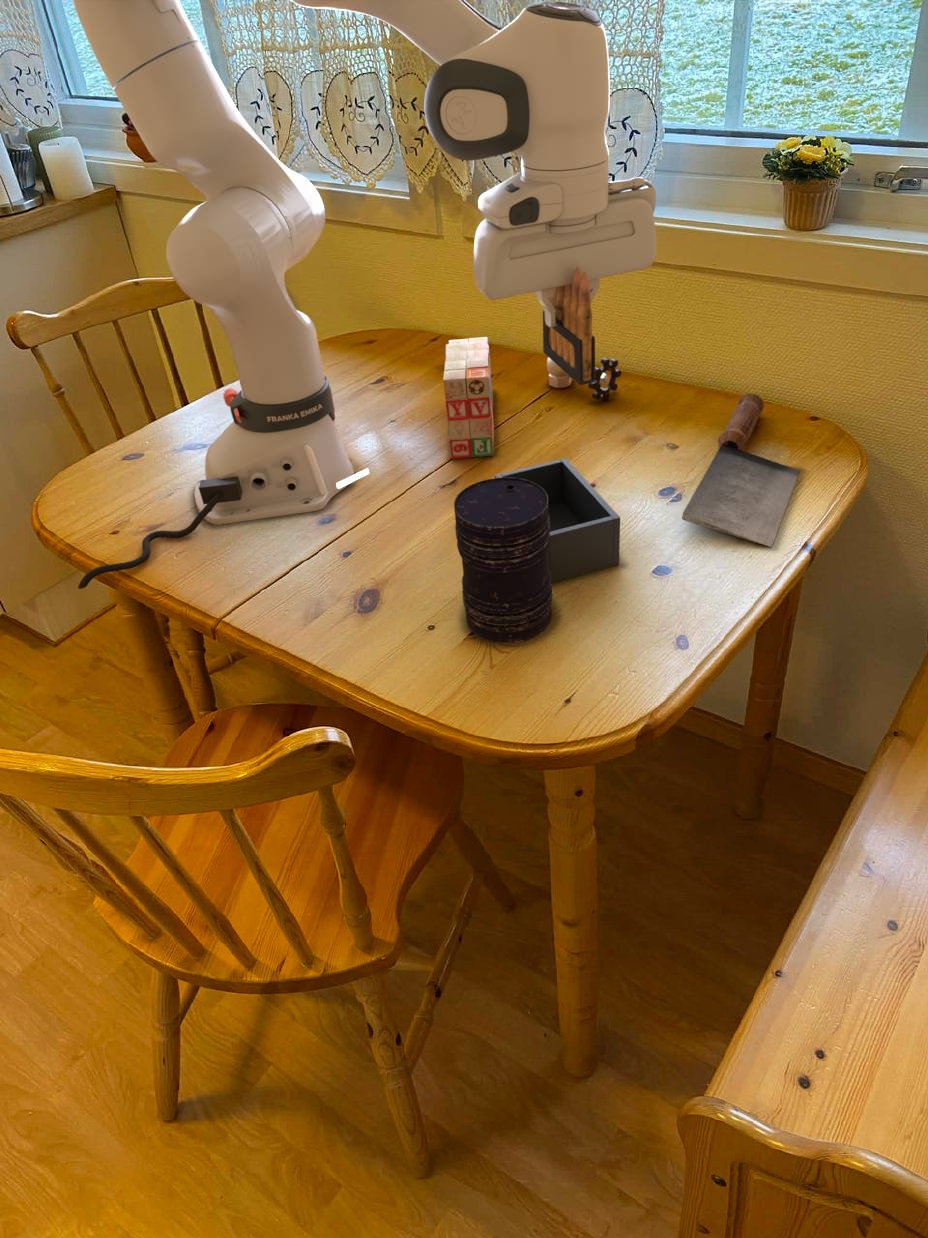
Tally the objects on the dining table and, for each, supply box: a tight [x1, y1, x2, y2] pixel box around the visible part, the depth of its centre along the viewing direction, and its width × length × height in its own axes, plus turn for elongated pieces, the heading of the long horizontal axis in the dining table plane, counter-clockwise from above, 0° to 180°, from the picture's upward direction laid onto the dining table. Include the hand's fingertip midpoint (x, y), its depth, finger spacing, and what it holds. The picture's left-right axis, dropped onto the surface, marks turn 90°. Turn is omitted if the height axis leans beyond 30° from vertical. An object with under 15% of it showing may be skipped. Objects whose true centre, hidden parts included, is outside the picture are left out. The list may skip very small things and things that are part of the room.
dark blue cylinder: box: [453, 477, 553, 645], centre depth 99 cm, size 10×10×15 cm
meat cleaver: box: [681, 393, 801, 548], centre depth 122 cm, size 34×11×4 cm, turn 155°
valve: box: [546, 356, 622, 401], centre depth 145 cm, size 7×7×12 cm
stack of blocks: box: [442, 336, 495, 459], centre depth 137 cm, size 21×6×12 cm, turn 179°
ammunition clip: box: [542, 267, 596, 386], centre depth 103 cm, size 11×2×12 cm, turn 19°
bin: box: [494, 457, 621, 584], centre depth 112 cm, size 10×16×7 cm, turn 18°
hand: (566, 321), depth 104 cm, fingers closed on ammunition clip, 2 cm apart
